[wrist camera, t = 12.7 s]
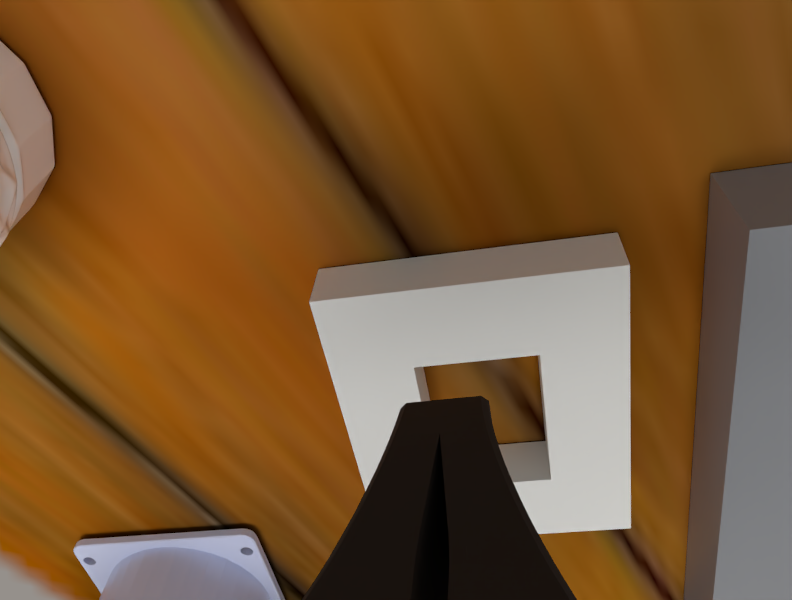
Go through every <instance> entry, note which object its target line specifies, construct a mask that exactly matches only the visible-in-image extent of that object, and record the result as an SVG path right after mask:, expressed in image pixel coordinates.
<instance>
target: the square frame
mask: <svg viewBox="0 0 792 600" xmlns="http://www.w3.org/2000/svg"><path fill="white" fill-rule="evenodd" d="M309 303H310V307H311V310H312V313H313V317H314V320H315V323H316V327H317V330H318V334H319V337H320V340H321V344H322V347H323V350H324V354H325V357H326V360H327V364H328V367H329V370H330V374H331V377H332V381H333V384H334V387H335V391H336V394H337V397H338V401H339V404H340V407H341V411H342V414H343V417H344V421H345V424H346V428H347V431H348V434H349V438H350V441H351V444H352V448H353V451H354V454H355V458H356V461H357V464H358V468H359V471H360V475H361V478H362V481H363V485H364V488H365V491H366V489H367V487H368V485H369V483H370V481H371V479H372V477H373V475H374V473H375V471H376V469H377V467H378V464H379V462H380V460H381V458H382V455H383V453H384V451H385V448H386V446H387V444H388V441H389V439H390V436H391V434H392V431H393V429H394V426H395V423H396V420H397V418H398V415H399V412H400V409H401V408H402V407H403V406H404V405H405V404H406V403H411V402H422V401H430V397H429V392H428V387H427V383H426V378H425V373H424V368H423V367H425V366H435V365H445V364H455V363H465V362H475V361H485V360H495V359H505V358H515V357H525V356H535V355H538V365H539V375H540V386H541V397H542V408H543V418H544V429H545V440H546V441H538V442H525V443H513V444H501V445H499V448H500V451H501V454H502V457H503V459H504V462H505V464H506V467H507V469H508V472H509V474H510V477H511V479H512V481H513V483H514V485H515V488H516V490H517V492H518V494H519V496H520V499H521V501H522V503H523V505H524V507H525V509H526V511H527V513H528V515H529V517H530V519H531V521H532V523H533V525H534V527H535V529H536V531H537V533H538V534H546V533H562V532H578V531H594V530H611V529H627V528H631V418H630V264H629V261H628V258H627V256H626V253H625V251H624V248H623V245H622V243H621V240H620V238H619V235H618V232H617V233H609V234H601V235H593V236H584V237H576V238H568V239H560V240H552V241H544V242H535V243H527V244H519V245H511V246H503V247H495V248H487V249H478V250H470V251H462V252H454V253H446V254H438V255H429V256H421V257H413V258H405V259H397V260H389V261H381V262H372V263H364V264H356V265H348V266H340V267H332V268H323V269H318V273H317V276H316V280H315V283H314V287H313V290H312V294H311V297H310V301H309Z"/></svg>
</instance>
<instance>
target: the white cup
mask: <svg viewBox="0 0 792 600" xmlns="http://www.w3.org/2000/svg"><path fill="white" fill-rule="evenodd" d="M54 166H55V159H54V144H53V128H52V116H51V114H50V112H49V110H48V108H47V106H46V104H45V102H44V100H43V98H42V96H41V94H40V93H39V91H38V89H37V87H36V85H35V83H34V81H33V79H32V77H31V75H30V73H29V71H28V70H27V68H26V66H25V64H24V63H23V62H22V61H21V60H20V59H19V58H18V57H17V56H16V55H15V54H14V53H13V52H12V51H11V50H10V49H9V48H8V47H7V46H5V45H4V44H3V43H2V42H1V41H0V246H1V245H2V243H3V242H4V241H5V239H6V238H7V236H8V234H9V231H10V230H11V229H12V228H13V227H14V226H15V225H16V224H17V223H18V222H19V221H20V219H21V218H22V217H23V216H24V215H25V214H26V213H27V212H28V211H29V210H30V208H31V207H32V206H33V205H34V204H35V202H36V200H37V199H38V197H39V195H40V193H41V191H42V189H43V187H44V185H45V184H46V182H47V180H48V178H49V176H50V174H51V172H52V171H53V169H54Z"/></svg>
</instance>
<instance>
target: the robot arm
mask: <svg viewBox="0 0 792 600" xmlns="http://www.w3.org/2000/svg"><path fill="white" fill-rule="evenodd" d="M73 551H74V554H75V555H76V557H77V558H78V560H79V561H80V563H81V564H82V566H83V567H84V569H85V570H86V572H87V573H88V575H89V576H90V578H91V579H92V581H93V582H94V584H95V585H96V587H97V588H98V590H99V591H100V593H101V596H100V599H99V600H285V598H284V596H283V594H282V592H281V589H280V587H279V585H278V583H277V580H276V578H275V576H274V573H273V571H272V569H271V567H270V564H269V562H268V560H267V558H266V555H265V553H264V551H263V548H262V546H261V544H260V542H259V539H258V537H257V535H256V534H255V533H254V532H253V531H252V530H249V529H244V528H240V529H226V530H211V531H196V532H181V533H166V534H152V535H137V536H122V537H107V538H93V539H82V540H79V541H78V542H77V543H76V545H75V547H74V550H73ZM302 600H577V599H576V597H575V596H574V594H573V593H572V591H571V589H570V588H569V586H568V585H567V583H566V581H565V580H564V578H563V577H562V575H561V573H560V572H559V570H558V568H557V567H556V565H555V563H554V562H553V560H552V558H551V556H550V555H549V553H548V551H547V549H546V547H545V546H544V544H543V542H542V540H541V538H540V536H539V534H538V533H537V531H536V529H535V527H534V525H533V523H532V521H531V519H530V517H529V515H528V513H527V511H526V509H525V507H524V505H523V503H522V501H521V499H520V496H519V494H518V492H517V490H516V488H515V485H514V483H513V481H512V479H511V477H510V474H509V472H508V469H507V467H506V464H505V462H504V459H503V457H502V454H501V451H500V448H499V445H498V442H497V439H496V436H495V433H494V429H493V425H492V419H491V412H490V406H489V401H488V400H486V399H485V398H483V397H482V396H476V397H465V398H454V399H443V400H432V401H422V402H411V403H406V404H405V405H404V406H403V407H402V408H401V409H400V412H399V415H398V418H397V420H396V423H395V426H394V429H393V431H392V434H391V436H390V439H389V441H388V444H387V446H386V448H385V451H384V453H383V455H382V458H381V460H380V462H379V464H378V467H377V469H376V471H375V473H374V475H373V477H372V479H371V481H370V483H369V485H368V487H367V489H366V491H365V493H364V495H363V497H362V499H361V501H360V503H359V505H358V507H357V509H356V511H355V513H354V515H353V517H352V519H351V520H350V522H349V524H348V526H347V527H346V529H345V531H344V533H343V534H342V536H341V538H340V540H339V541H338V543H337V545H336V547H335V548H334V550H333V552H332V554H331V555H330V557H329V559H328V560H327V562H326V564H325V565H324V567H323V568H322V570H321V572H320V573H319V575H318V576H317V578H316V579H315V581H314V582H313V584H312V586H311V587H310V589H309V590H308V591H307V593H306V594H305V596H304V597H303V599H302Z"/></svg>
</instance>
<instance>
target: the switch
mask: <svg viewBox="0 0 792 600" xmlns="http://www.w3.org/2000/svg"><path fill="white" fill-rule="evenodd" d="M684 600H792V163H786V164H778V165H771V166H763V167H755V168H748V169H740V170H733V171H725V172H718V173H711V176H710V192H709V207H708V223H707V239H706V255H705V271H704V287H703V303H702V319H701V334H700V350H699V366H698V382H697V398H696V414H695V430H694V446H693V461H692V477H691V493H690V509H689V525H688V541H687V557H686V573H685V588H684Z"/></svg>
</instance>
